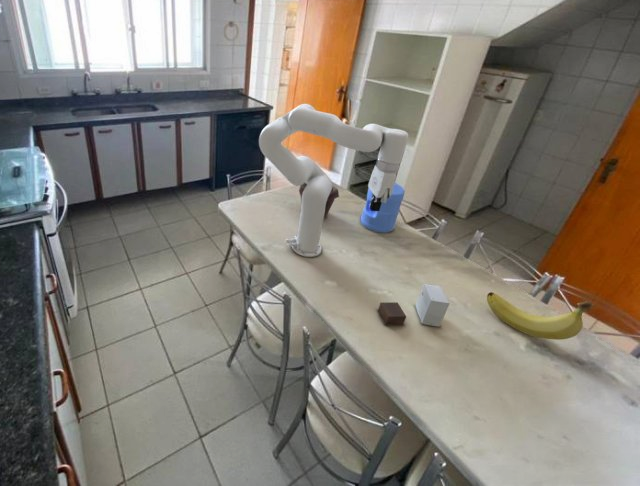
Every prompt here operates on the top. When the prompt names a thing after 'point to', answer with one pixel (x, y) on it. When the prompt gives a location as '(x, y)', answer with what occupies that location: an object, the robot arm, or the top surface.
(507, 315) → the banana
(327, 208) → the case
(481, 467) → the top surface
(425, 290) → the small box
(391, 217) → the water jug
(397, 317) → the walnut block
